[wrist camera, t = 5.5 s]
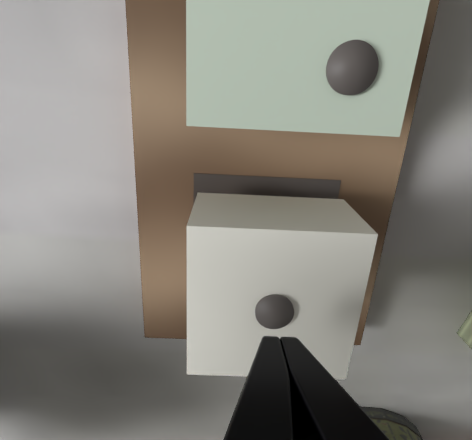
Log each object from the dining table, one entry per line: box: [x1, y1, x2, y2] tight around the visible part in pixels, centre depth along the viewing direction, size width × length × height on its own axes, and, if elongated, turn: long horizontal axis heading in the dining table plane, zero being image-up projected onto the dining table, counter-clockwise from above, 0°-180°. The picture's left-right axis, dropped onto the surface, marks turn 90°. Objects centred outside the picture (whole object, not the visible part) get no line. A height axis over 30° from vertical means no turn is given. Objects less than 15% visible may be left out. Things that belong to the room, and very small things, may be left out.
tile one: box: [187, 193, 378, 380], centre depth 11 cm, size 5×5×3 cm
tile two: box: [186, 0, 430, 137], centre depth 8 cm, size 5×5×3 cm
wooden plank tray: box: [125, 0, 439, 345], centre depth 12 cm, size 25×10×2 cm, turn 177°
